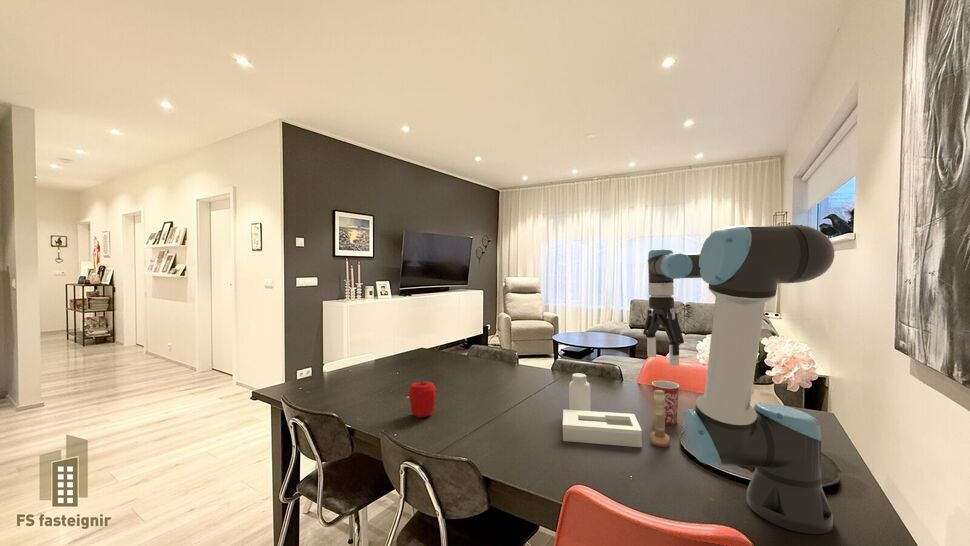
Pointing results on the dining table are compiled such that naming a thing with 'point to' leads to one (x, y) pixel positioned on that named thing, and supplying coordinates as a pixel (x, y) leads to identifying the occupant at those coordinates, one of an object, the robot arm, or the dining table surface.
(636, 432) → the keyhole board
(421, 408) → the red cylinder
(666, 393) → the mug
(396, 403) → the dining table surface
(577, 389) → the pill bottle
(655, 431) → the peg
